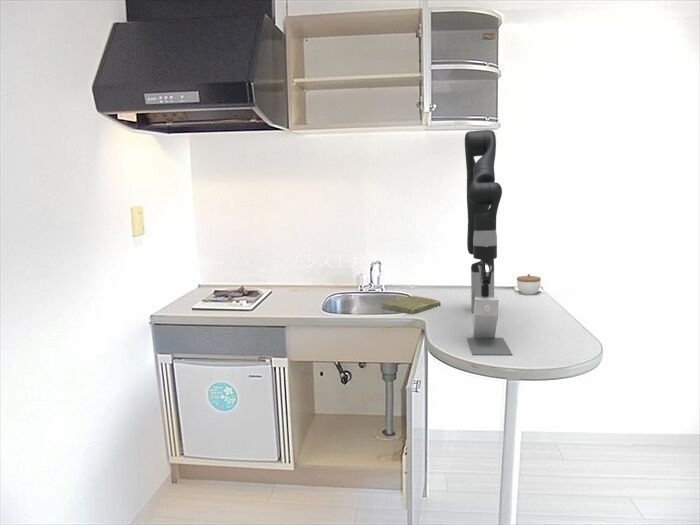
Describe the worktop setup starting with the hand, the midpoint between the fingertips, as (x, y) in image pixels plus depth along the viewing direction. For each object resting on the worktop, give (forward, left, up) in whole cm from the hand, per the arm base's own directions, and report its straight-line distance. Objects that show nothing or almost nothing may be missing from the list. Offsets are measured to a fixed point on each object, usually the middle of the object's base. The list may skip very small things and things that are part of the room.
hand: (485, 296), depth 170 cm
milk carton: (-8, 0, -13) cm, 15 cm away
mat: (+5, 0, -16) cm, 16 cm away
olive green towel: (-53, -26, -17) cm, 61 cm away
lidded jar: (-79, +30, -16) cm, 86 cm away
